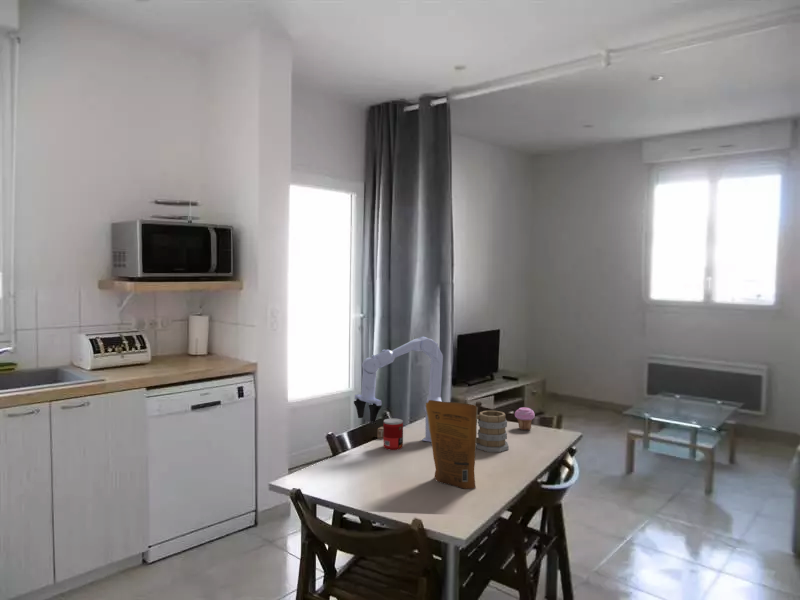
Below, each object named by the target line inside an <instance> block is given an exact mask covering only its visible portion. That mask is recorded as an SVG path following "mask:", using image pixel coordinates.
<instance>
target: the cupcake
mask: <svg viewBox="0 0 800 600" xmlns="http://www.w3.org/2000/svg"><path fill="white" fill-rule="evenodd" d="M535 414H536V413H535V412H534V410H533V409H532V408H530V407H524V406H523V407H519V408H518V409H516V410H515V412H514V418H516V419H517V423H518V427H519V430H524V431H525V430H526V431H529V430H532V421H533V420H534V419H535V417H536V416H535Z"/></svg>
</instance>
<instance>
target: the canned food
mask: <svg viewBox="0 0 800 600" xmlns="http://www.w3.org/2000/svg"><path fill="white" fill-rule="evenodd" d="M382 425H383V426H382V427H383V438H382V440H383V448H384V449H385V448H386V450H388V449H390V451H398V450H401V449H403V446H404V420H403V419H400V418H396V417H395V418H385V419H384V420H383V424H382ZM397 449H398V450H397Z"/></svg>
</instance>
